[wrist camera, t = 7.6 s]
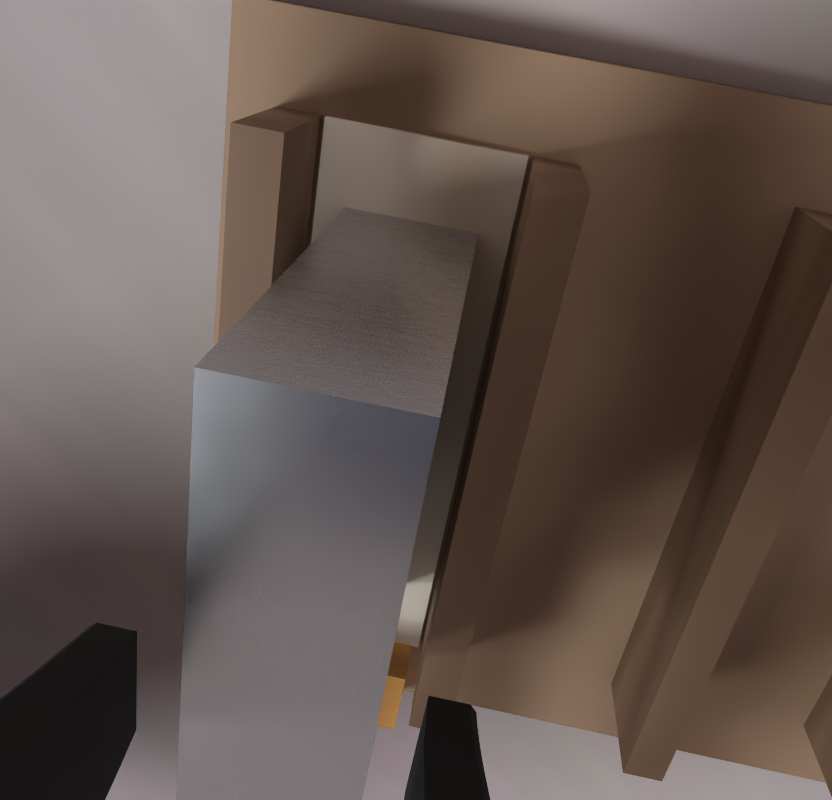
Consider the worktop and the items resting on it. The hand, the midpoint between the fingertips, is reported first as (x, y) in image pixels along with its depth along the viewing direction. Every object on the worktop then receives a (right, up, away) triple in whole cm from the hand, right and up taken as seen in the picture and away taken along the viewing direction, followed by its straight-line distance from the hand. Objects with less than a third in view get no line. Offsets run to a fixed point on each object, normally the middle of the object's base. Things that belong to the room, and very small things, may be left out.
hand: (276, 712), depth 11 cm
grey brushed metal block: (+1, +4, +8) cm, 9 cm away
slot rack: (+7, +3, +9) cm, 12 cm away
